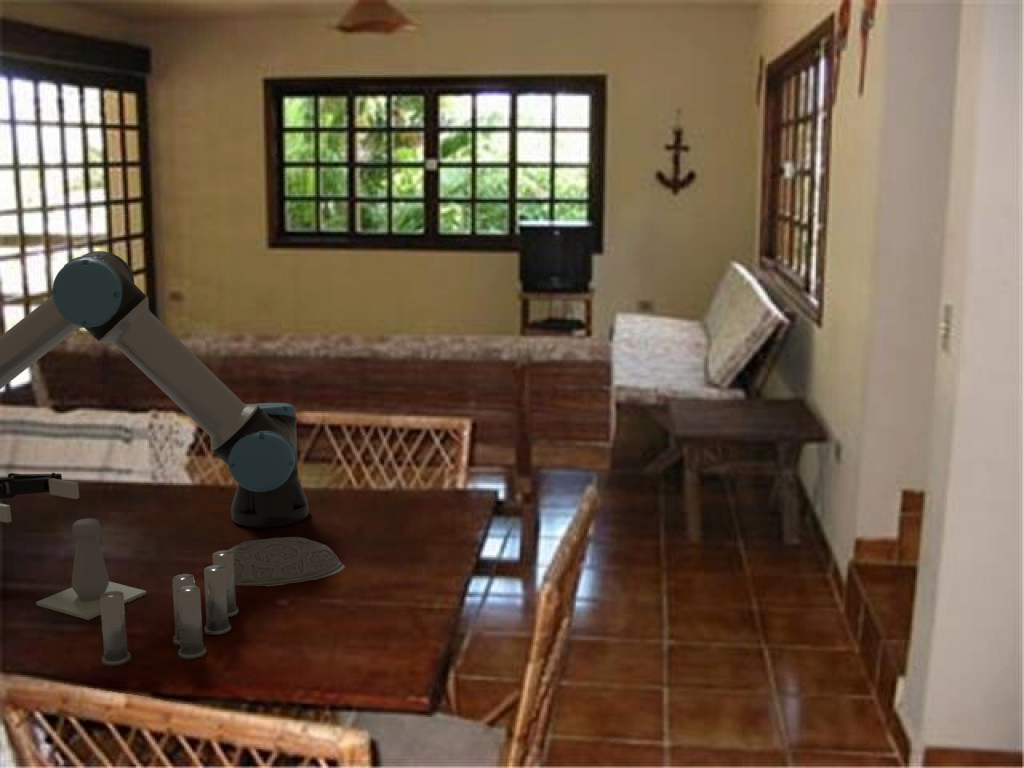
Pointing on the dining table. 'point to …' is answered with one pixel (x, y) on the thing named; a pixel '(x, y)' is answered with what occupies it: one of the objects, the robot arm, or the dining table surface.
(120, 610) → the spacers
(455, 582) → the dining table surface
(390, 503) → the dining table surface
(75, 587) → the salt shaker
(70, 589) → the coaster
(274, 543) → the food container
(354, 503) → the dining table surface
